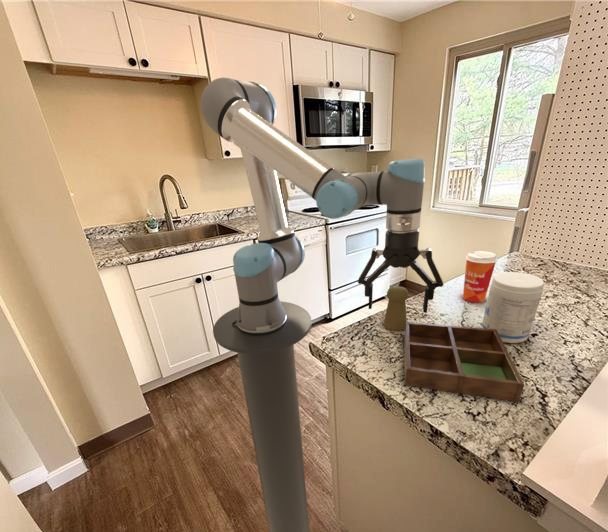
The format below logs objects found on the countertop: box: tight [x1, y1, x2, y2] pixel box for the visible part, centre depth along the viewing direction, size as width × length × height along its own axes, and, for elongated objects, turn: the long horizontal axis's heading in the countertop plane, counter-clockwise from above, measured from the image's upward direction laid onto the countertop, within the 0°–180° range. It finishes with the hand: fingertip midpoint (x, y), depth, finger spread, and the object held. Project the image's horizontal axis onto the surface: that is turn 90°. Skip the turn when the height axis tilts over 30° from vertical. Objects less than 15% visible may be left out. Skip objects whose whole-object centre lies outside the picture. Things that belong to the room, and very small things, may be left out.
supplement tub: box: [480, 271, 545, 344], centre depth 73 cm, size 10×10×15 cm
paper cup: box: [462, 250, 498, 304], centre depth 91 cm, size 8×8×14 cm
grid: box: [403, 321, 525, 403], centre depth 67 cm, size 19×19×4 cm
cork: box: [383, 285, 409, 331], centre depth 83 cm, size 6×6×11 cm
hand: (396, 308), depth 83 cm, fingers open, 13 cm apart
